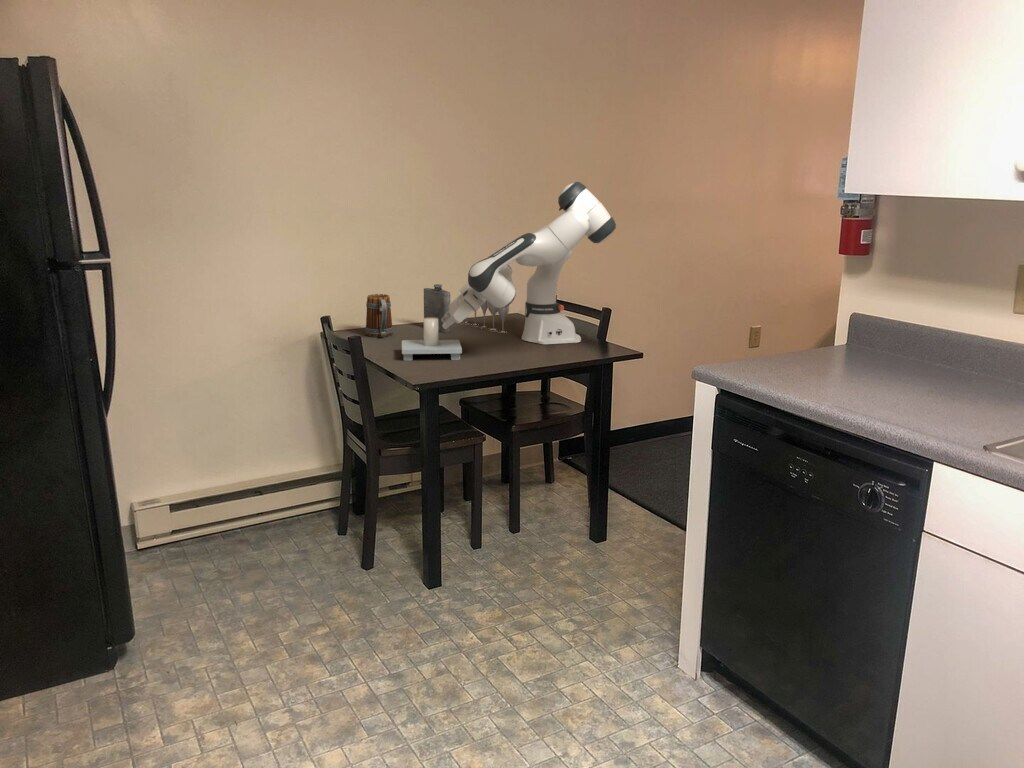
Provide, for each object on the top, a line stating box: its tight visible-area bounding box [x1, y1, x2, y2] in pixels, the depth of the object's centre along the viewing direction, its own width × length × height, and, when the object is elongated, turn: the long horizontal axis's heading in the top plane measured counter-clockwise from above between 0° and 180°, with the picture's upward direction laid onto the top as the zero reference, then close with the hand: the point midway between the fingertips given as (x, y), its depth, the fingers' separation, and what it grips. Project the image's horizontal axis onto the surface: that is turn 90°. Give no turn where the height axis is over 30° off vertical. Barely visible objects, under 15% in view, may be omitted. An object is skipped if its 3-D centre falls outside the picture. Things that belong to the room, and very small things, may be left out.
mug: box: [364, 293, 394, 338], centre depth 304 cm, size 16×11×15 cm
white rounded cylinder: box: [423, 317, 439, 346], centre depth 275 cm, size 5×5×9 cm
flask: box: [423, 283, 451, 334], centre depth 316 cm, size 4×14×18 cm, turn 46°
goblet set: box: [464, 300, 510, 332], centre depth 323 cm, size 28×6×13 cm, turn 42°
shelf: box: [401, 339, 463, 362], centre depth 277 cm, size 20×14×4 cm
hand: (443, 324), depth 276 cm, fingers open, 8 cm apart
